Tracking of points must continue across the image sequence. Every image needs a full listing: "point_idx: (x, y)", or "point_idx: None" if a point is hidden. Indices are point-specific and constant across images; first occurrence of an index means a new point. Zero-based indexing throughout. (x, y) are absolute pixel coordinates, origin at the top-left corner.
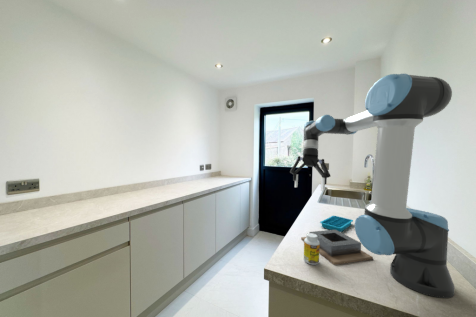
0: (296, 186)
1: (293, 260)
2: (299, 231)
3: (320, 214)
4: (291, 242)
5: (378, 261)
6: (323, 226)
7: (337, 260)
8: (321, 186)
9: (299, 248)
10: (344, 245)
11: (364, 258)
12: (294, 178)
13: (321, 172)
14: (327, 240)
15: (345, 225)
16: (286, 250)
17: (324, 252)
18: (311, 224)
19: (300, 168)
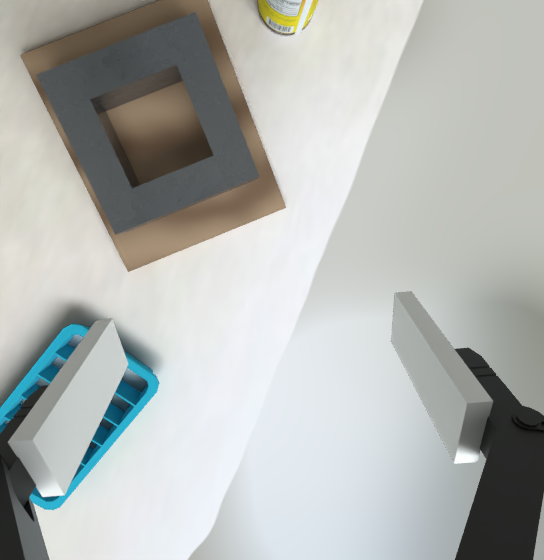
0: (408, 295)
1: (351, 6)
2: (275, 295)
3: (117, 555)
4: (332, 168)
5: (8, 45)
6: (147, 369)
7: (183, 1)
8: (108, 387)
9: (308, 115)
10: (128, 39)
11: (62, 39)
12: (478, 364)
13: (13, 535)
14: (195, 80)
15: (32, 367)
16: (364, 88)
17: (218, 66)
18: (199, 397)
19: (491, 531)
